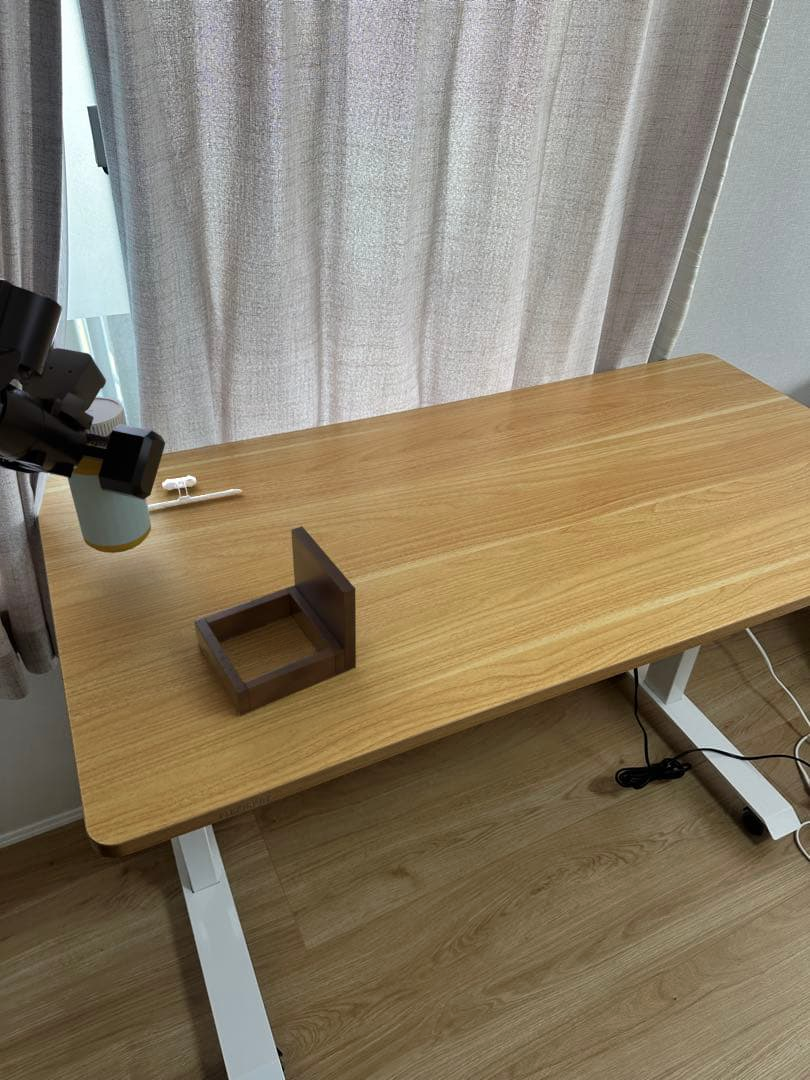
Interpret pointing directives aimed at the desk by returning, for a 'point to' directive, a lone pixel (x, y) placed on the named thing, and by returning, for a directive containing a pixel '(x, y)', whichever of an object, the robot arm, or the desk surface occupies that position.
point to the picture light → (185, 482)
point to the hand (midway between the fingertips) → (112, 469)
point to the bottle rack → (318, 610)
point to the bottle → (106, 493)
